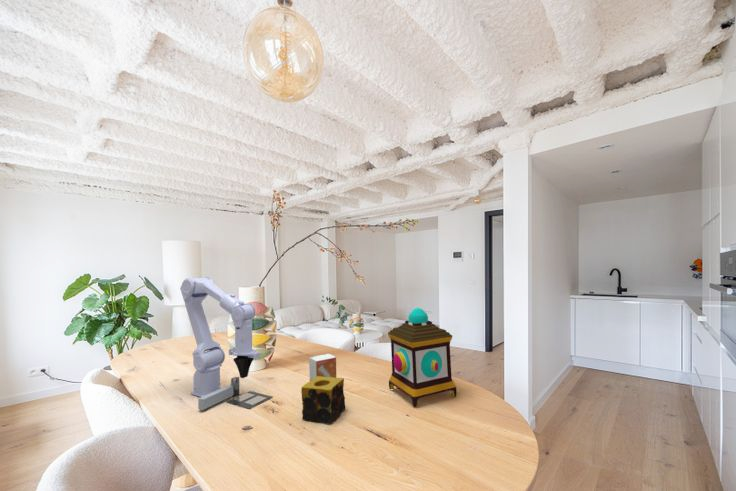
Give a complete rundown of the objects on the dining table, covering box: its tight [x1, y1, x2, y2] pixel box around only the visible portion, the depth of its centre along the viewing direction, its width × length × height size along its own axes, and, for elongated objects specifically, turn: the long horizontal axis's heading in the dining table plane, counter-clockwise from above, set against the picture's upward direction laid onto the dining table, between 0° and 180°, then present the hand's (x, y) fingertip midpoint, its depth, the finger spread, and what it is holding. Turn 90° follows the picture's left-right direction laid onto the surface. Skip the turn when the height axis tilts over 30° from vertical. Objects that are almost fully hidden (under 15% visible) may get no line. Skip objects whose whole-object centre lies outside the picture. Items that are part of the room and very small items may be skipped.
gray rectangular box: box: [197, 384, 234, 411], centre depth 105 cm, size 12×2×3 cm, turn 155°
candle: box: [301, 376, 346, 425], centre depth 95 cm, size 10×10×10 cm
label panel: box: [225, 390, 274, 410], centre depth 108 cm, size 12×10×1 cm
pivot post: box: [230, 376, 241, 398], centre depth 113 cm, size 3×3×6 cm
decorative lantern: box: [387, 307, 458, 408], centre depth 109 cm, size 20×20×30 cm
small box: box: [308, 353, 337, 381], centre depth 111 cm, size 8×6×13 cm
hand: (244, 377), depth 110 cm, fingers closed
